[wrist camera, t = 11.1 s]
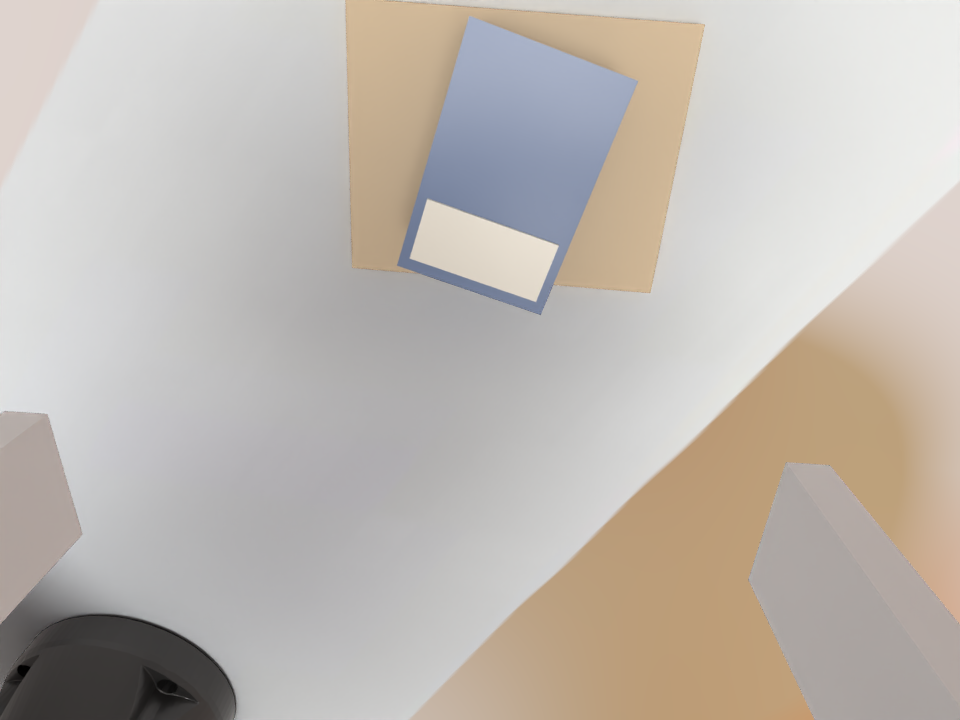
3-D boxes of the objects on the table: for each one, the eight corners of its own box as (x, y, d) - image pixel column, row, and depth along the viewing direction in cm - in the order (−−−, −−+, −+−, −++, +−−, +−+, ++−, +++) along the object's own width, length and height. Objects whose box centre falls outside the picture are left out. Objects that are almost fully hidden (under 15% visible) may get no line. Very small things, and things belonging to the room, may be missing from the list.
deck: (477, 23, 24) (469, 15, 20) (618, 77, 25) (639, 80, 20) (414, 236, 28) (396, 266, 24) (537, 278, 29) (540, 316, 24)
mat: (355, 264, 29) (352, 267, 29) (349, -2, 24) (345, -3, 24) (647, 288, 29) (650, 293, 28) (700, 25, 24) (704, 24, 24)
